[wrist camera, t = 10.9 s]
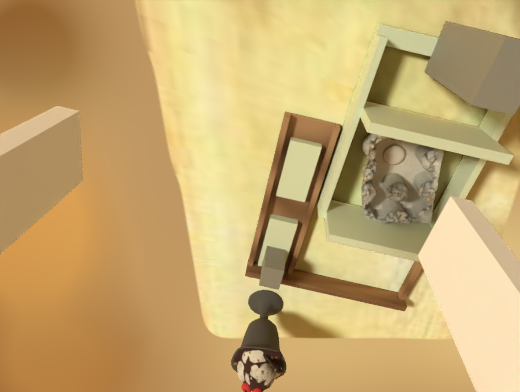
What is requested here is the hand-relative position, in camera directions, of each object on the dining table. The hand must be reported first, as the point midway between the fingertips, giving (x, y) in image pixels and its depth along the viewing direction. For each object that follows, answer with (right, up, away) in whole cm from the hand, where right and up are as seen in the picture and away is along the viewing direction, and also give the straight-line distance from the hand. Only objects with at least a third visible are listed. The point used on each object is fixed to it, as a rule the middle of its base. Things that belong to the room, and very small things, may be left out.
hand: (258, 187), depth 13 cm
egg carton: (+15, +3, +28) cm, 32 cm away
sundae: (+1, -16, +40) cm, 43 cm away
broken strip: (+3, -2, +32) cm, 32 cm away
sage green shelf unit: (+16, +6, +25) cm, 30 cm away
